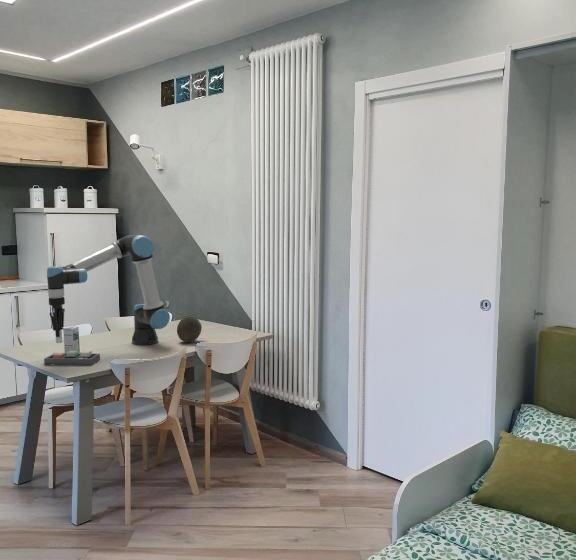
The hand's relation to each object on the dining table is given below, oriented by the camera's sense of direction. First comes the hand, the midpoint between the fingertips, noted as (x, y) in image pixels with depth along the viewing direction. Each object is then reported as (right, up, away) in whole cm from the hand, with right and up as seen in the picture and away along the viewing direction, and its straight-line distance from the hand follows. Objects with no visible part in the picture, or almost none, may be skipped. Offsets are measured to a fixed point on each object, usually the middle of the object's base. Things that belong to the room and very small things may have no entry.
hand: (59, 342), depth 301 cm
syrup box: (-1, -8, +20) cm, 21 cm away
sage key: (+7, -7, 0) cm, 9 cm away
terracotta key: (0, -8, +1) cm, 8 cm away
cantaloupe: (+58, -5, +49) cm, 76 cm away
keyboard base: (+7, -10, +1) cm, 12 cm away
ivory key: (+14, -7, 0) cm, 15 cm away
